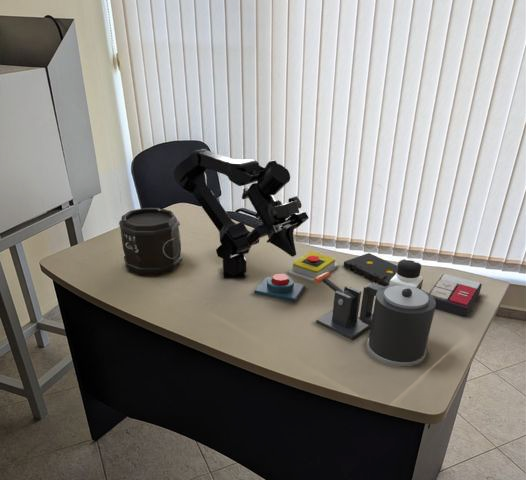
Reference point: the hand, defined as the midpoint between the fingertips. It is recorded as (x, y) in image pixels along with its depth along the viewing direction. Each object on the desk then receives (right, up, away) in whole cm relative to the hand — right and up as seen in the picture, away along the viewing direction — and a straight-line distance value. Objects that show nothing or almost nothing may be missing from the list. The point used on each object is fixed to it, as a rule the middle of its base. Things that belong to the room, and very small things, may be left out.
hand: (294, 255), depth 129 cm
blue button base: (-3, -9, +11) cm, 15 cm away
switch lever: (+10, -10, -5) cm, 15 cm away
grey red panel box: (+45, -11, +9) cm, 47 cm away
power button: (-3, -6, +10) cm, 12 cm away
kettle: (+22, -23, -11) cm, 34 cm away
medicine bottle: (+31, -12, +8) cm, 34 cm away
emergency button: (+8, -1, +24) cm, 25 cm away
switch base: (+12, -18, -3) cm, 22 cm away
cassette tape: (+27, -2, +23) cm, 36 cm away
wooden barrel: (-42, 0, +25) cm, 49 cm away
